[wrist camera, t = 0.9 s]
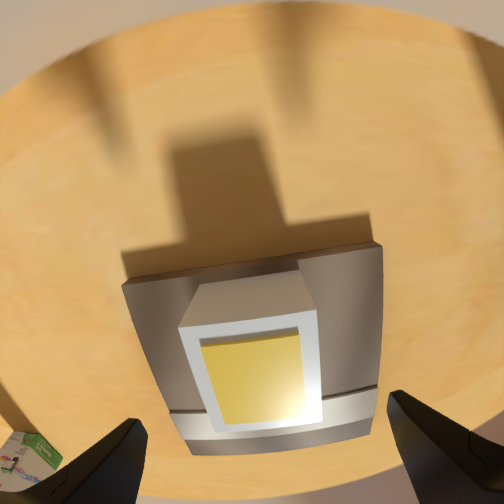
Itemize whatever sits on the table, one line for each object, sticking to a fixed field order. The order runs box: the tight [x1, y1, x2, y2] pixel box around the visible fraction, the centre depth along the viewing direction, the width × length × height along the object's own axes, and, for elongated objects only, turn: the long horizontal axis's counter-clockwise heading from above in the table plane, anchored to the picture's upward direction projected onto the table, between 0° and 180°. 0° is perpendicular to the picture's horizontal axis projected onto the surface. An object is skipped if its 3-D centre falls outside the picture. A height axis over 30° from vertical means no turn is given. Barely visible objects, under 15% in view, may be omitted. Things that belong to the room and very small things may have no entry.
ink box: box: [0, 431, 63, 492], centre depth 17 cm, size 8×5×12 cm, turn 112°
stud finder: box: [178, 270, 322, 432], centre depth 13 cm, size 5×6×5 cm
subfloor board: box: [121, 241, 383, 456], centre depth 16 cm, size 14×15×1 cm
